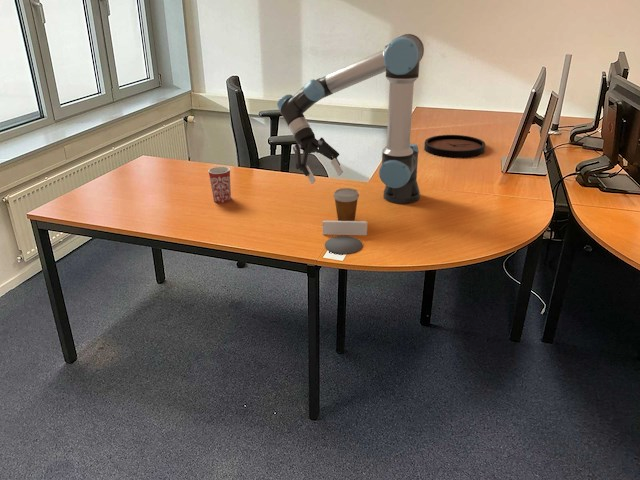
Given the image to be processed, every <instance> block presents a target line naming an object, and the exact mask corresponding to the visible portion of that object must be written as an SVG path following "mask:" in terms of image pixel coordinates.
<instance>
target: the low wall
mask: <svg viewBox="0 0 640 480" xmlns="http://www.w3.org/2000/svg"><path fill="white" fill-rule="evenodd" d="M321 226H322V235H329V236H333V235H334V236H336V235H337V236H367V235H368V221H365V220H355V221H338V220H322V225H321Z"/></svg>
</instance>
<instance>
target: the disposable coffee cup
mask: <svg viewBox="0 0 640 480" xmlns="http://www.w3.org/2000/svg"><path fill="white" fill-rule="evenodd" d="M359 197H360V195H359V192H358V190H357V189H353V188H349V187H343V188H339V189H336V190H335V191H334V194H333V198H334V202H335V209H336V216H337V217H336V218H337V221H356V212H357V208H358V206H357V205H358V200H359Z"/></svg>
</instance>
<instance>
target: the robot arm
mask: <svg viewBox="0 0 640 480" xmlns="http://www.w3.org/2000/svg"><path fill="white" fill-rule="evenodd" d="M424 53H425V47H424V44H423V41H422V40H421V38H420V37H418V36H417V35H415V34H412V33H405V34H402V35H400V36H398V37H396V38H394V39H392V40H391V41H390V42H389V43H388V44H387V45H385V46H384V48H383V49H381V50H379V51H378V52H375V53H373V54H371V55H368V56H366V57H364V58H362V59H360V60H357V61H356V62H353V63H351V64H349V65H346V66H344V67H342V68H340V69H337V70H335V71H334V72H331V73H329V74H326V75H325V76H322V77H319V78H317V79H313V78H312V79H310V80H309V81H308V82H306V83H305V84H304V85H303V86H302V87H301V88H300V89H299V90H298V91H297V92H296V93H295V94H294V95H293V94H285V95H283V96H281V97H280V98H279V99H278V101H277V103H276V106H277V108H278V111H279V114H280V115H281V116H282V118H283V119H284V121H285V123H286V126H287V127H288V129H289V131H290V133H291V135H292V136H293V138H294V140H295V142H296V143H295V144H294V146H293V147H292V149H293V152H294V160H295V163H294V164H295V169H296V170H299V171H302V172H303V174H304V176H305V177H307V178H308V181H309V182H310V184H311V185H313V184H314V183H315V182H316V181H317V179H316V178H315V176H314V174H313V172H312V171H311V168H310V167H309V165H307V162H308V156H309V155H310V154H315V153H317V154H319V155H321V156H323V157H325V158H327V159H329V160H330V164H331V165H332V167H333V168H334V171H335V172H336V173H337V175H338V176H341V175H342V174H343V172H344V171H343V169H342V166H341V163H340V161H339V159H338V157H339V156H340V153H339V152H338V151H337V150H336V149H335V148H334V147H332V146H331V145H330V144H329V143H327V141H325V139H324V137H320V138H319V139H316V135H315V132H314V131H313V129H312V127H311V126H310V124H309V122H308V120H307V119H306V117H305V115H304V113H306V112H307V110H309V109H310V108H311V107H312V106H313V105H315V104H317V102H319V101H321V100H322V99H325V98H326V97H329V96H331V95H333V94H336V93H339V92H341V91H342V90H345V89H347V88H350V87H351V86H354V85H357V84H359V83H361V82H363V81H364V82H365V81H366V80H368V79H371V78H373V77H376V76H378V75H380V74H383V73H384V72H385V78H386V80H388V81H389V85H388V86H389V89H388V90H389V91H388V108H387V109H388V111H387V130H386V131H387V132H386V146H385V147H384V148H383V149H382V152H381V155H382V156H381V165H380V167H379V169H378V170H379V171H378V175H379V178H380V181H381V182H382V183H383V184H384V185H385V186H384V189H383V194H382V195H383V198H384V200H385V199H386V200H385V201H387V200H388V201H387V202H390V203H393V202H394V204H401V203H403V204H412V203H416V202H417V201H419V200H420V197H421V196H420V195H421V192H420V188H419V185H418V181H417V176H418V160H419V152H420V151H419V145H418V144H416V143H412V142H411V130H412V118H413V117H412V115H413V101H414V83H415V82H416V81H417V80H418V79H419V74H420V63H421V60H422V59H423V57H424ZM301 150H302V154H301ZM301 155H302V157H301Z"/></svg>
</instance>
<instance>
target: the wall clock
mask: <svg viewBox="0 0 640 480" xmlns="http://www.w3.org/2000/svg"><path fill="white" fill-rule="evenodd" d="M423 147H424V151H425V152H426V153H428V154H429V155H432V156H436V157H440V158H447V159H470V158H475V157H478V156H482V155H483V154H485V152H486V142H485V141H483V139H480V138H477V137H473V136H470V135H461V134H441V135H434V136H430V137H428V138H426V139H425V140H424V146H423Z"/></svg>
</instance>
